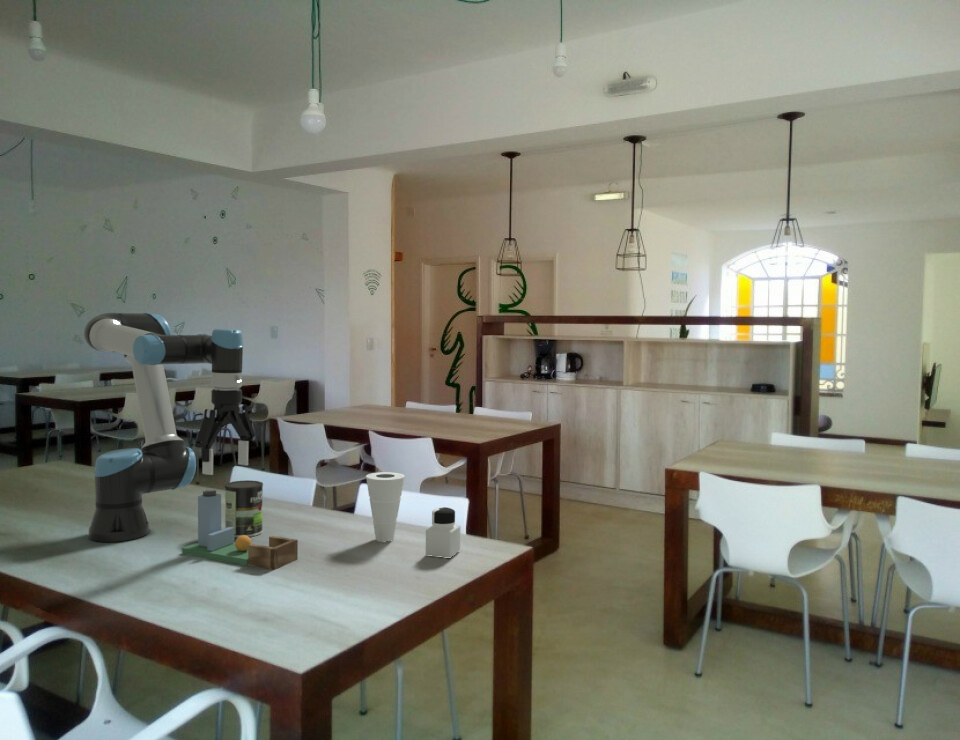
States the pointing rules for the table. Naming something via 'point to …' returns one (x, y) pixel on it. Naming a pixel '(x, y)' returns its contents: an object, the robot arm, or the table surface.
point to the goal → (273, 553)
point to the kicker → (212, 522)
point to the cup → (385, 502)
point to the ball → (242, 543)
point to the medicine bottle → (443, 533)
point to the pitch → (218, 553)
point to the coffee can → (244, 507)
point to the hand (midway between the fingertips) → (226, 469)
